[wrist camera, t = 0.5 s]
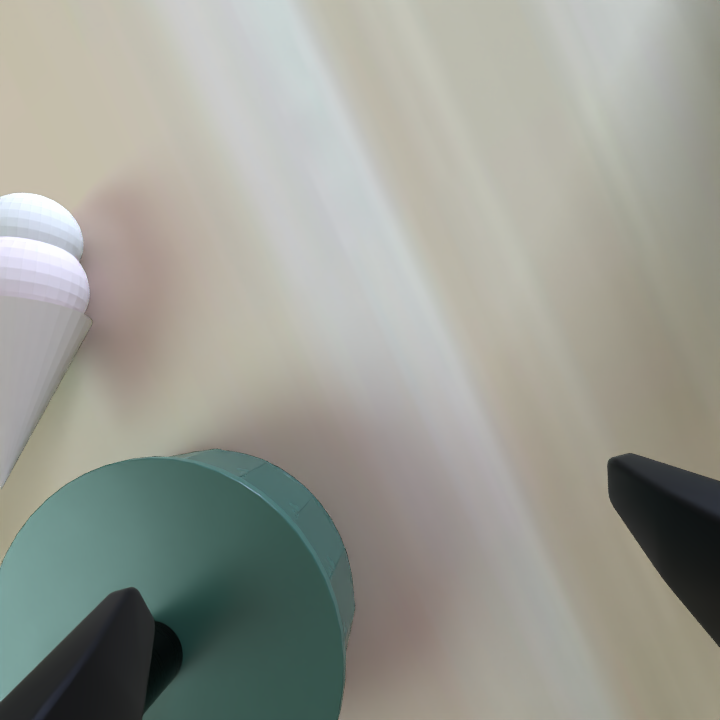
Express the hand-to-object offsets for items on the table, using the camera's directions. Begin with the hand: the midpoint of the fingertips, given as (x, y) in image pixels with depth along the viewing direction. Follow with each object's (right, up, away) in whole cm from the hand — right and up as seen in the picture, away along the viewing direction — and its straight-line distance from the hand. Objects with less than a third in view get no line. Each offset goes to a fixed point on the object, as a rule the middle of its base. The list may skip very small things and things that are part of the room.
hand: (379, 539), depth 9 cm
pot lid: (-9, -9, +11) cm, 16 cm away
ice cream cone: (-17, +5, +18) cm, 25 cm away
